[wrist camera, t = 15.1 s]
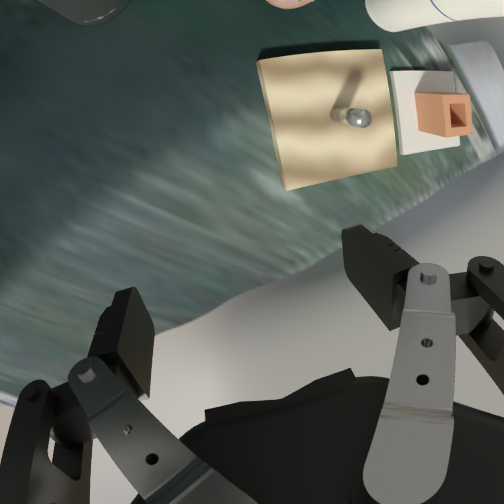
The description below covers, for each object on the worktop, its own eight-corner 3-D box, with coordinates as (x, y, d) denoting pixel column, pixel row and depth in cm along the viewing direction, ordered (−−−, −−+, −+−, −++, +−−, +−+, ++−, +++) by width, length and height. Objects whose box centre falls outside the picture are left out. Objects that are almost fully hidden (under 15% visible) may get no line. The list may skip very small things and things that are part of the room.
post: (328, 107, 34) (353, 110, 29) (343, 105, 34) (370, 108, 29) (331, 123, 35) (356, 129, 30) (346, 121, 35) (372, 126, 30)
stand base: (255, 62, 33) (259, 60, 31) (373, 50, 33) (381, 49, 32) (282, 186, 40) (286, 190, 38) (389, 162, 41) (397, 165, 39)
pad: (389, 71, 35) (392, 71, 34) (449, 71, 36) (452, 71, 35) (400, 154, 40) (403, 155, 40) (456, 144, 41) (459, 145, 40)
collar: (414, 92, 36) (441, 94, 31) (441, 91, 36) (469, 94, 31) (418, 130, 38) (445, 137, 33) (445, 127, 39) (472, 134, 34)
